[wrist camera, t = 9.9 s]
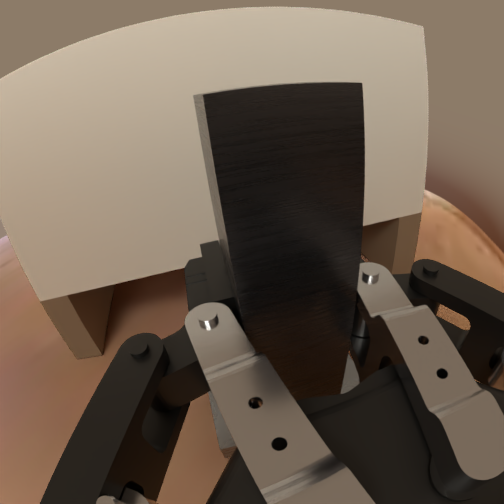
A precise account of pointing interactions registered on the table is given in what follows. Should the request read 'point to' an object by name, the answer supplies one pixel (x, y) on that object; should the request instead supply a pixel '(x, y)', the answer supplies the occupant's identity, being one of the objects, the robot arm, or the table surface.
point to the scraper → (289, 224)
